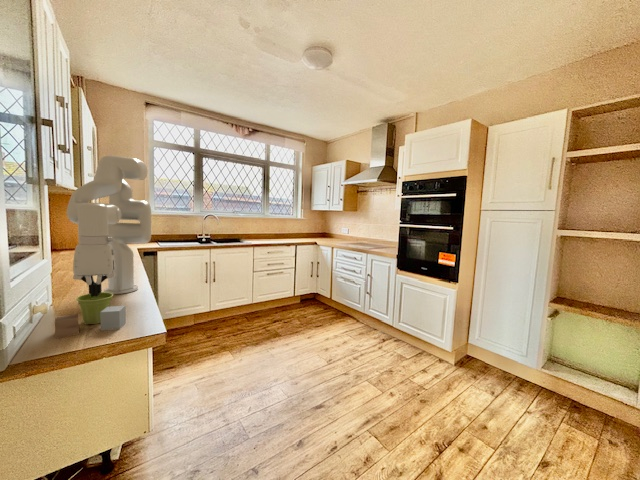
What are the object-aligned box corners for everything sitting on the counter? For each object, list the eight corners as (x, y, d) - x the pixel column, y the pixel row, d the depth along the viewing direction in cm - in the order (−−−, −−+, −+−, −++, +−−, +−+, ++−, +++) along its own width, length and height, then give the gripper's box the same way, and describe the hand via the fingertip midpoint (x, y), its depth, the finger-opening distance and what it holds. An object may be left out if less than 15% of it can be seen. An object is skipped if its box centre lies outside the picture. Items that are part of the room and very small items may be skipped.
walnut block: (56, 332, 80) (55, 316, 79) (78, 328, 83) (78, 313, 83) (55, 339, 76) (54, 322, 76) (78, 334, 80) (78, 318, 79)
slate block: (107, 324, 87) (107, 306, 87) (125, 323, 89) (125, 305, 88) (100, 330, 83) (99, 312, 82) (119, 329, 84) (119, 311, 84)
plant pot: (106, 313, 95) (106, 290, 95) (118, 320, 91) (118, 295, 90) (72, 322, 87) (71, 296, 87) (84, 329, 83) (83, 302, 82)
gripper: (124, 239, 93) (124, 290, 95) (67, 239, 86) (69, 294, 88) (119, 242, 87) (120, 296, 88) (58, 242, 80) (61, 301, 81)
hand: (95, 295), depth 88 cm, fingers closed
